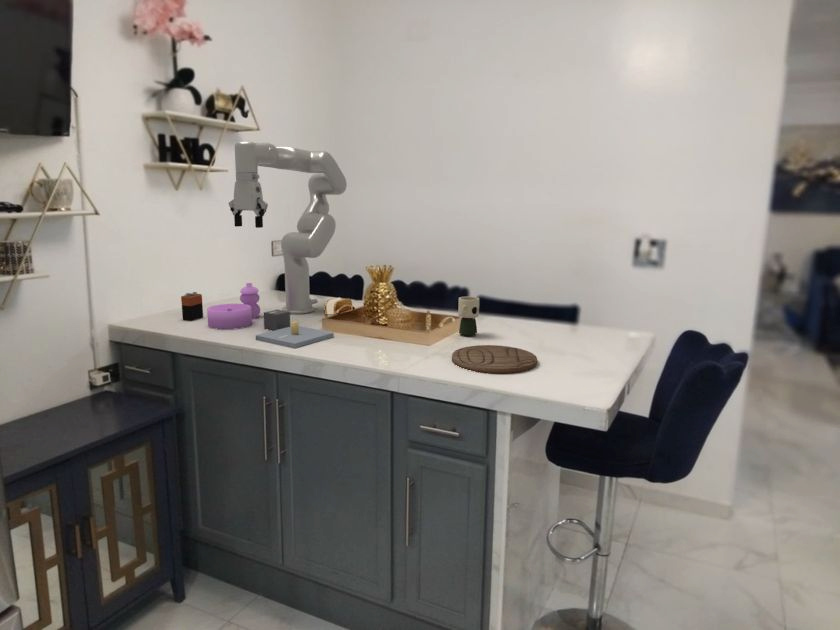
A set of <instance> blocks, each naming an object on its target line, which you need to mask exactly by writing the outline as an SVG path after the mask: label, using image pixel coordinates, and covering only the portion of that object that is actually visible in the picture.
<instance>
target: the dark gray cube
mask: <svg viewBox="0 0 840 630" xmlns="http://www.w3.org/2000/svg"><path fill="white" fill-rule="evenodd" d="M287 327H291V314H290V312H288V311H283V310H282V309H273V310H269V311H268V310H267V311H265V312H263V328H264V330H266V329H268V331H271V330H272V331H275V330H279V329H283V328H287Z"/></svg>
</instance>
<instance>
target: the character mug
mask: <svg viewBox="0 0 840 630" xmlns="http://www.w3.org/2000/svg"><path fill="white" fill-rule="evenodd" d="M457 311H458V312H457V314H458V317H461V319H460V322H459V323H460V324H459V329H458V334H460V335H464V336H465V337H467V336H468V337H469V336H476V335H477V334H478V328H477V320H476V318H478V317H479V315H480V298H479V297H476V296H460V297H458V310H457Z"/></svg>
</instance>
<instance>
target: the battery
mask: <svg viewBox="0 0 840 630" xmlns="http://www.w3.org/2000/svg"><path fill="white" fill-rule="evenodd" d="M180 299H181V300H180V301H181V302H180V303H181V313H182V314H181V316H182V320H183V321H190V322H192V321H195V320H199V319H202V318H204V309H203V295H202V294H201V293H198V292H197V291H193V292H192V293H191V292H186V293H185V294H184V295H182V296H180Z"/></svg>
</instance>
